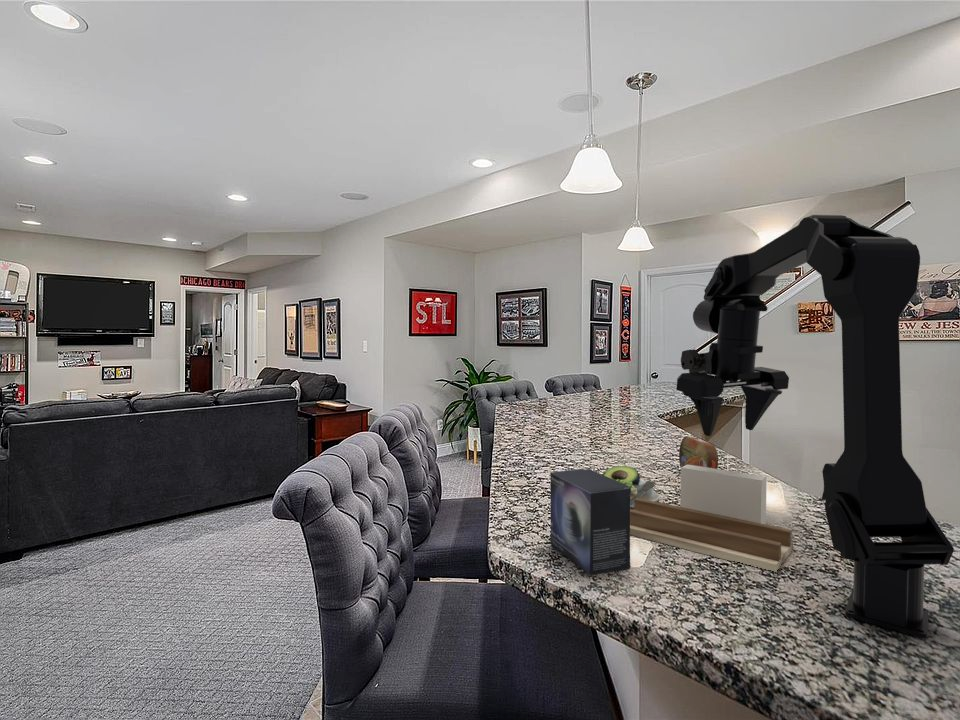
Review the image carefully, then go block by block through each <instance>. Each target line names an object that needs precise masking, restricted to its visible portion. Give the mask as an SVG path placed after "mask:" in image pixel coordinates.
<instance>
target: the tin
mask: <svg viewBox="0 0 960 720" xmlns="http://www.w3.org/2000/svg"><path fill="white" fill-rule="evenodd" d="M678 462H679V468H680V469H681V467H683V466H685V465H694V466H701V467H707V468H714V469H719V454H718V451H717V448H716V447H715V445H714V444H712V443H710V442H708V441H705V440H703V439H701V438H699V437H694V436H693V437H692V436H684V437H683V438H682V440H681V443H680V445H679V451H678Z"/></svg>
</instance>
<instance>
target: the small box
mask: <svg viewBox="0 0 960 720" xmlns="http://www.w3.org/2000/svg"><path fill="white" fill-rule="evenodd" d="M549 473H550V474H549V477H550V478H549V479H550V480H549V481H550V482H549V483H550V485H549V486H550V494H549V495H550V536H549V537H550V542H549V543H550V546H552V547H553V548H554V549H556V550H557V551H558V552H560V553H561V554H562V555H563V556H565V557H566V558H567V559H569V560H570V561H571V562H573V563H574V564H575V565H576V566H578V567H579V568H580V569H581V570H583V571H584V572H585V573H586V574H588V575H589V576H593V575H599V574H605V573H611V572H612V573H613V572H616V571H621V570H629V569H630V568H631V535H630V495H631V487H630V486H627V485H625V484H623V483H620V482H618V481H616V480H613V479H611V478H609V477H606V476H604V475H603V474H601V473H599V472H597V471H595V470H592V469H590V468H587V467H585V468H578V469H568V470H561V471H552V472H549Z"/></svg>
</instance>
